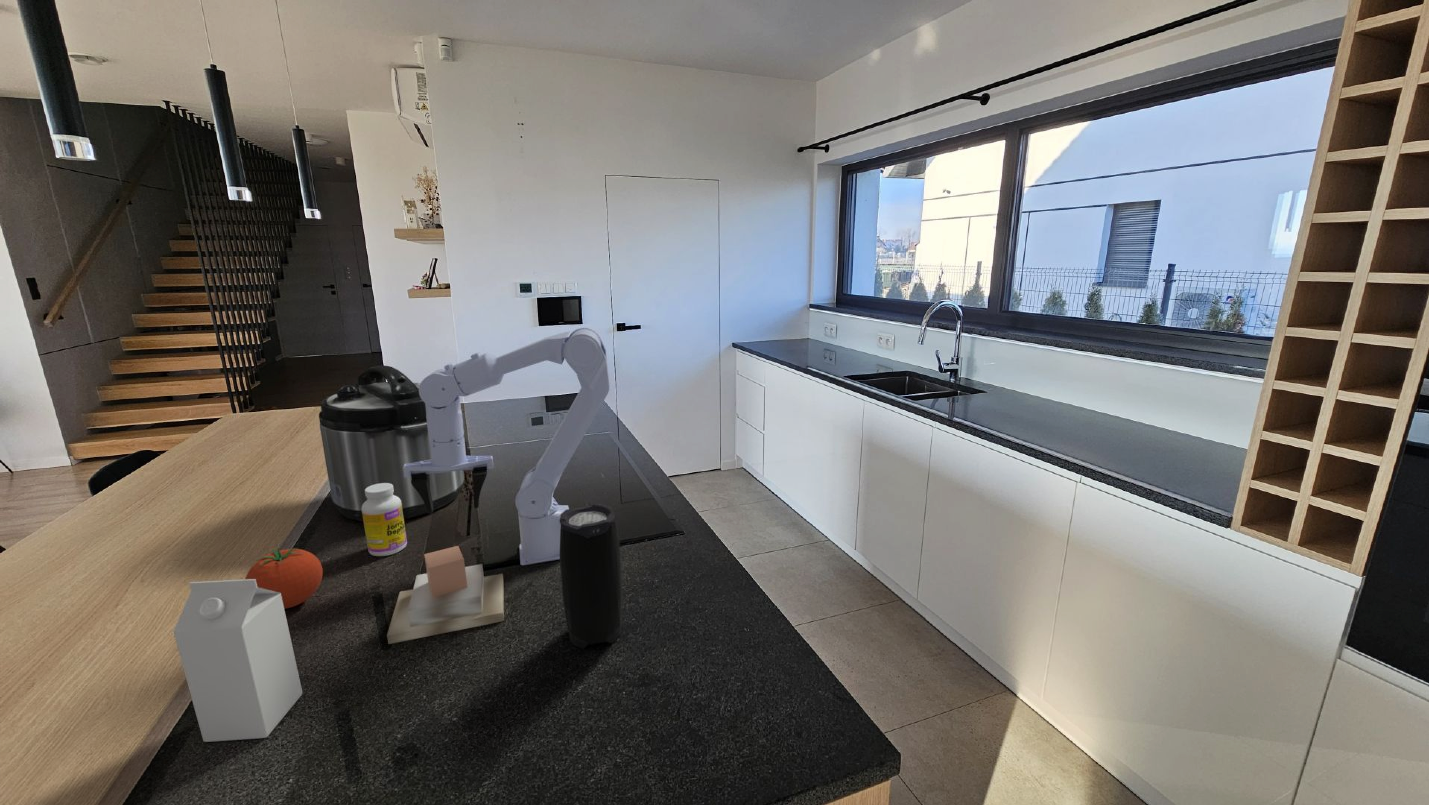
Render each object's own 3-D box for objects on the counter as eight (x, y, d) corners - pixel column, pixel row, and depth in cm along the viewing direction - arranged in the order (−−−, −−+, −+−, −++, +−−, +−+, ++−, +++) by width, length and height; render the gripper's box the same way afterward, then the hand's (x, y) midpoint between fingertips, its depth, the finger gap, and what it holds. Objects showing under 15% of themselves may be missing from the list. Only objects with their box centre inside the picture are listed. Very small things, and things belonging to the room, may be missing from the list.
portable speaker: (614, 609, 93) (608, 496, 88) (632, 643, 85) (627, 521, 80) (560, 623, 89) (551, 507, 84) (573, 661, 81) (564, 534, 76)
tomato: (319, 580, 102) (309, 528, 99) (334, 604, 95) (323, 549, 92) (246, 604, 95) (233, 549, 92) (255, 632, 88) (242, 573, 85)
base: (503, 581, 101) (500, 558, 100) (503, 621, 90) (501, 595, 89) (401, 599, 96) (397, 575, 95) (388, 644, 85) (383, 617, 84)
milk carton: (245, 698, 75) (212, 566, 70) (303, 694, 75) (275, 563, 70) (203, 743, 68) (163, 600, 63) (267, 739, 68) (233, 597, 64)
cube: (461, 573, 95) (458, 545, 94) (467, 587, 91) (463, 558, 90) (428, 582, 93) (424, 554, 91) (432, 597, 88) (428, 568, 87)
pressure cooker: (458, 522, 123) (439, 377, 115) (309, 536, 118) (279, 384, 110) (481, 472, 152) (467, 352, 144) (362, 481, 146) (341, 357, 138)
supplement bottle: (390, 559, 108) (380, 496, 105) (360, 556, 110) (349, 493, 107) (415, 542, 115) (406, 482, 112) (386, 539, 116) (376, 479, 113)
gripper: (490, 427, 108) (496, 495, 112) (403, 434, 103) (412, 505, 107) (490, 439, 102) (496, 510, 105) (398, 447, 97) (407, 521, 100)
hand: (454, 508), depth 105 cm, fingers open, 7 cm apart
